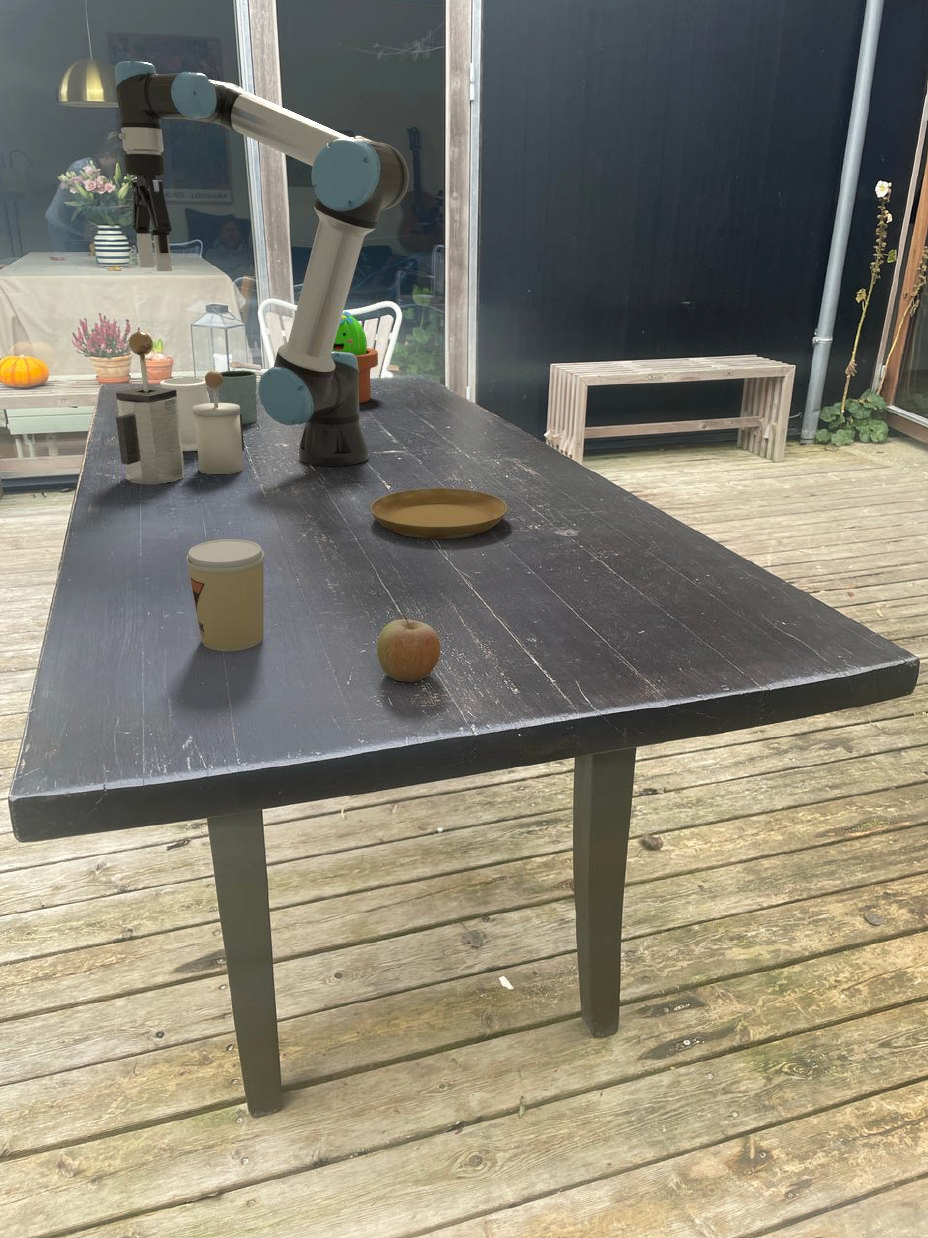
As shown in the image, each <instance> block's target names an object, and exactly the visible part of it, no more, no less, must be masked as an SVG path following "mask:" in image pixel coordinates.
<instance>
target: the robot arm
mask: <svg viewBox="0 0 928 1238" xmlns="http://www.w3.org/2000/svg"><path fill="white" fill-rule="evenodd" d="M114 74H115V79H114V80H115V91H116V99H117V104H118V105H117V107H118V112H119V119H120V131H121V132H120V133H119V134H118V137H119V139H120V140H122V149H123V151H124V152H126V154H124V156H123V162H124V170H125V173H126V175H127V176H135V177H136V180H132V181H131V186H132V228H133V230H135V233H136V239H137V240H136V241H137V248H138V257H139V260H138V261H139V267H140V268H155V262H156V271H157V272H172V271H173V268H172V267H173V266H172V258H171V256H172V255H171V247H170V237H169V235H170V233H172V230H173V229H172V226H171V221H170V217H169V213H168V208H167V207H168V206H167V203H166V199H165V194H164V188H163V185H164V184H163V181H162V180H161V179H160V180H158V179H157V177H164V176H166V165H165V164H166V163H165V157H164V155H162V153H163V152H164V141H163V132H162V121H161V120H165V119H167V120H169V119H171V120H173V119H174V120H175V119H176V120H190V121H197V122H203V123H210V124H211V123H212V124H216V125H219V126H222V127H225V129H228V130H231V131H234V132H235V133H239V134H241V135H243V136H245V137H247V138H250V139H251V140H254V141H256V142H258V143H260V144H263V145H264V146H267V147H270V148H271V149H273V150H275V151H278V152H280V153H283V154H284V155H287V156H289V157H291V158H293V159H296V160H298V161H300V162H302V163H304V164H307V165H309V166H311V167H312V169H311V183H312V187H313V188H314V194H315V195H316V199H315V203H314V205H313V206H314V207H313V209H314V211H315V212H316V214H317V216H318V218H319V220H318V221H319V222H318V225H317V230H316V233H315V238H314V241H313V245H312V248H311V252H310V256H309V260H308V264H307V268H306V272H305V275H304V279H303V284H302V287H301V291H300V295H299V299H298V302H297V306H296V310H295V313H294V318H293V322H292V325H291V329H290V333H289V338H288V341H287V342H286V343H283V344H281V345H280V346H279V347H278V348H277V349H278V350H277V352H276V356H275V360H274V364H273V366H272V367H270V368H269V369H267V370H266V371H265V372H263V374H262V375H261V377H260V379H259V382H258V386H257V387H258V391H257V392H258V397H259V401H260V403H261V405H262V406H263V408H264V411H265V412H266V414H267V415H268V416H269V417H270V418H271V419H272V420H274V421H275V422H276V423H279V424H281V425H284V426H295V425H303V424H305V425H304V429H303V432H302V437H301V440H300V443H299V448H298V456H299V458H298V459H299V461H301V463H306V464H308V465H314V466H321V467H323V466H324V467H340V466H342V467H343V466H344V467H345V466H351V465H356V464H361V463H364V462H366V461H368V459H369V448H368V447H369V446H368V444H367V441H366V438H365V436H364V435H365V434H364V432H363V430H362V426H361V423H360V422H361V421H360V403H359V376H358V373H359V369H358V362H357V357H356V356H355V355H354V354H352V353H346V352H333V351H332V349H333V345H334V342H335V338H336V335H337V331H338V328H339V324H340V321H341V317H342V313H344V311H345V310H344V309H345V306H346V304H347V299H348V296H349V292H350V288H351V285H352V282H353V278H354V274H355V271H356V268H357V264H358V260H359V256H360V254H361V249H362V246H363V243H364V239H365V237H366V236H367V234H368V235H369V234H370V233H372V232H373V231H375V230H376V226H377V224H378V220H379V217H380V214H381V211H385V210H388V209H391V208H393V207H394V206H396V205H398V203H400V202H401V201H402V200H403V198H404V197H405V195H406V193H407V190H408V187H409V183H410V172H409V167H408V165H407V162H406V160H405V158H404V156H403V155H402V154H401V152H400V151H399V150H397V149H396V147H394V146H391V145H390V144H389V143H384V142H380V141H378V142H377V141H374V140H371V139H369V138H366V137H364V136H361V135H356V136H355V137H351V136H348V135H345V134H343V133H340V132H338V131H336V130H334V129H331V128H329V127H327V126H324V125H322V124H320V123H318V122H316V121H314V120H311V119H309V118H307V117H304V116H302V115H300V114H297V113H295V112H293V111H291V110H288V109H287V108H283V107H281V106H279V105H277V104H274V103H273V102H270V101H268V100H266V99H263V98H261V97H258V96H256V95H254V94H252V93H249V92H246V90H245V89H244V88H242V87H241V86H238V85H236V84H235V83H232V82H228V81H219V80H213V79H210V78H208V76H207V75H206V74H203V73H201V72H190V71H183V72H179V73H176V72H175V73H173V72H172V73H160V74H159V73H157V71H156V67H155V66H154V64H152V63H149V62H144V61H136V60H135V61H134V60H133V61H131V60H130V61H129V60H128V61H127V60H126V61H125V60H124V61H119V62H117V63H116V64H115V67H114ZM150 222H151V223H150ZM150 224H152V228H153V229H152V228H151V227H150ZM152 236H153V242H154V252H153V244H152ZM154 253H155V260H154ZM154 261H155V262H154Z"/></svg>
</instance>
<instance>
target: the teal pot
mask: <svg viewBox="0 0 928 1238" xmlns="http://www.w3.org/2000/svg"><path fill="white" fill-rule="evenodd" d="M218 372H219V371H218ZM219 373H220V374H221V375H222V377H223V384H222V385H221V387H219V388H217V393H218V394H219V397H218V399H219V403H232V404H237V405H239V406H240V413H241V414H242V425H247V424H252V423H256V422H257V420H258V408H257V404H258V403H257V372H255V371H252V370H225V371H220V372H219Z"/></svg>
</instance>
